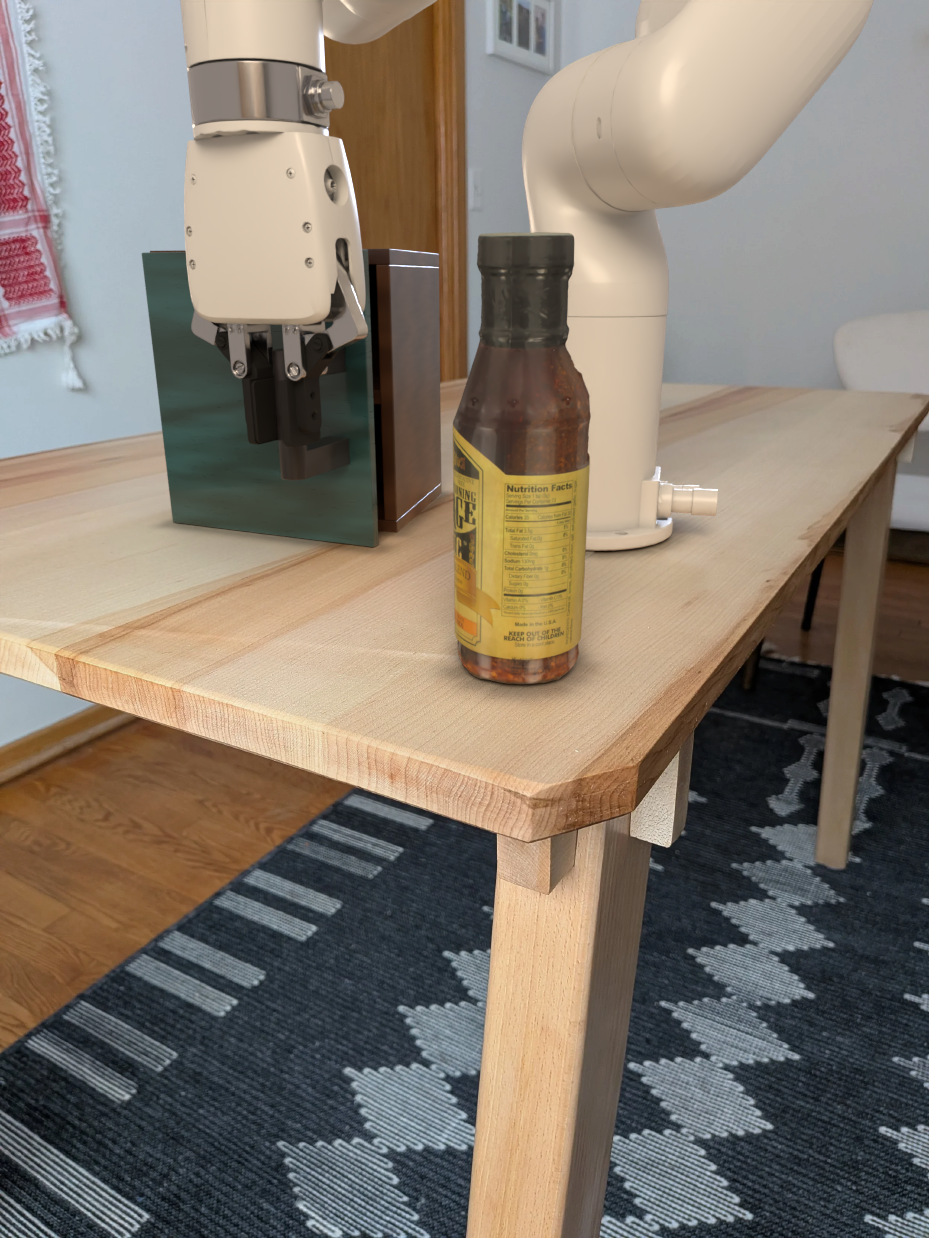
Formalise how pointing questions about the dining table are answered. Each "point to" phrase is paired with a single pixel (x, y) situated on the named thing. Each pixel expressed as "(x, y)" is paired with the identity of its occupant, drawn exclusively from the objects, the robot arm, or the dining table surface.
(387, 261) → the cupboard
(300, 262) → the robot arm
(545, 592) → the sauce bottle
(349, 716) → the dining table surface
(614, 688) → the dining table surface
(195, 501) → the cupboard door
